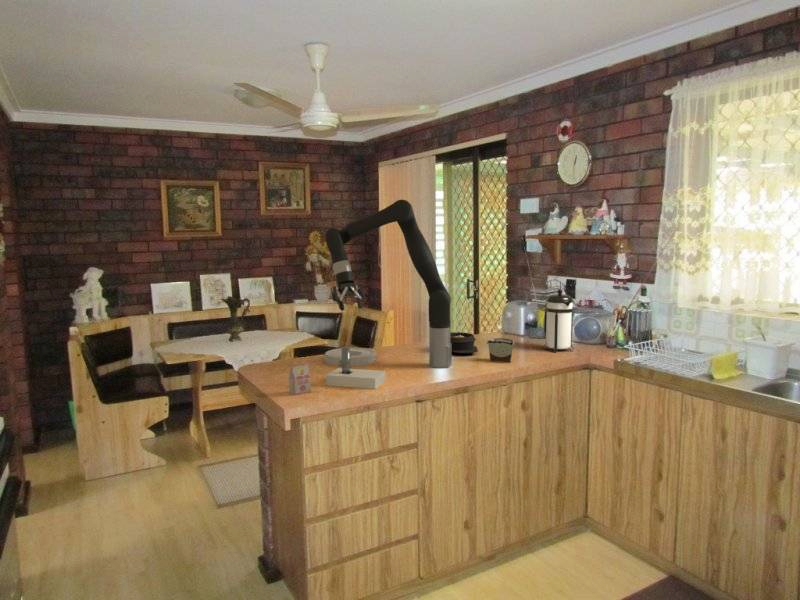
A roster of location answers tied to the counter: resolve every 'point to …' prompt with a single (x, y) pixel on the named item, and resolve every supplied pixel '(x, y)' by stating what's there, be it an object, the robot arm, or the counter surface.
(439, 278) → the robot arm
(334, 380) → the peg block
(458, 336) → the casserole
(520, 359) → the counter surface
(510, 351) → the food container
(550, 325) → the coffee press
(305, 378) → the grey printed package
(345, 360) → the graphite peg
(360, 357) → the ashtray
